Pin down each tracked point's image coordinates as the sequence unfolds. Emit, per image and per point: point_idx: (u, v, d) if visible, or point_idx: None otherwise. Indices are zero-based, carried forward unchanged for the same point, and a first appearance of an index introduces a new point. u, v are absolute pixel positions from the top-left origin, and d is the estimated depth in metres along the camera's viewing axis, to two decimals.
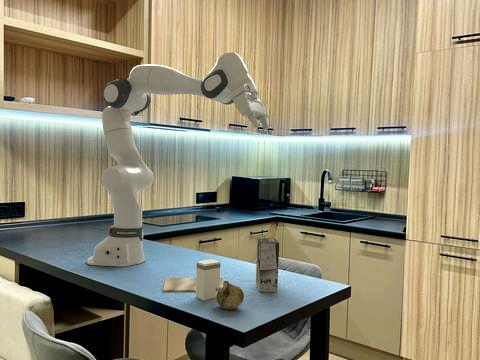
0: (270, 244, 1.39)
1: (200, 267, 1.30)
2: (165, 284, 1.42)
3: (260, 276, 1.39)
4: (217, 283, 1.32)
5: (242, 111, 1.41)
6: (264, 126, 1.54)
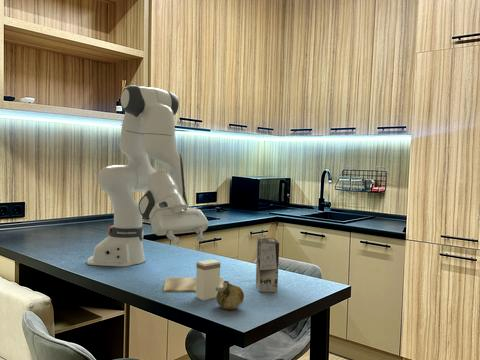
0: (270, 244, 1.39)
1: (200, 267, 1.30)
2: (165, 284, 1.42)
3: (260, 276, 1.39)
4: (217, 283, 1.32)
5: (155, 231, 1.36)
6: (198, 238, 1.43)
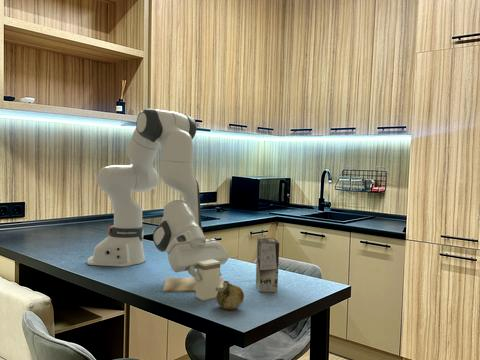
0: (270, 244, 1.39)
1: (200, 267, 1.30)
2: (165, 284, 1.42)
3: (260, 276, 1.39)
4: (217, 283, 1.32)
5: (173, 268, 1.29)
6: None
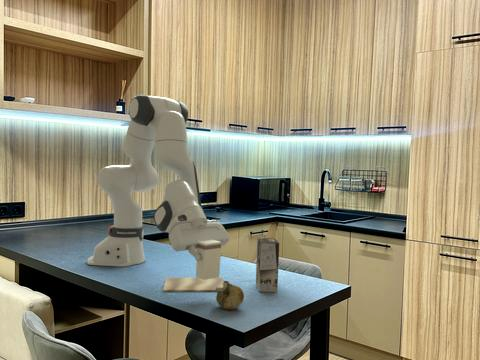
0: (270, 244, 1.39)
1: (200, 247, 1.30)
2: (165, 284, 1.42)
3: (260, 276, 1.39)
4: (217, 263, 1.32)
5: (174, 247, 1.28)
6: None
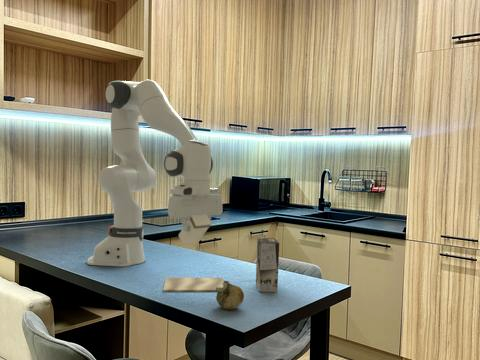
0: (270, 244, 1.39)
1: (192, 222, 1.39)
2: (165, 284, 1.42)
3: (260, 276, 1.39)
4: (200, 235, 1.45)
5: (169, 214, 1.37)
6: None
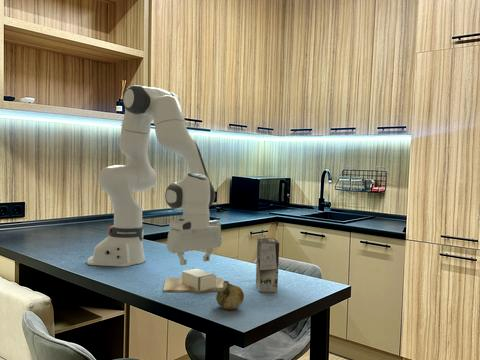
0: (270, 244, 1.39)
1: (198, 283, 1.37)
2: (165, 284, 1.42)
3: (260, 276, 1.39)
4: None
5: (168, 248, 1.37)
6: (204, 258, 1.46)
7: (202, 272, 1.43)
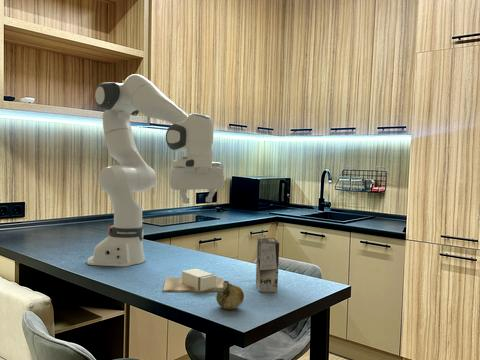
0: (270, 244, 1.39)
1: (198, 283, 1.37)
2: (165, 284, 1.42)
3: (260, 276, 1.39)
4: None
5: (171, 185, 1.39)
6: (207, 199, 1.48)
7: (202, 272, 1.43)
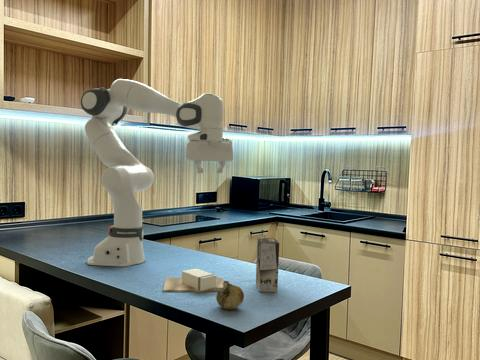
0: (270, 244, 1.39)
1: (198, 283, 1.37)
2: (165, 284, 1.42)
3: (260, 276, 1.39)
4: None
5: (187, 157, 1.57)
6: (218, 170, 1.66)
7: (202, 272, 1.43)
